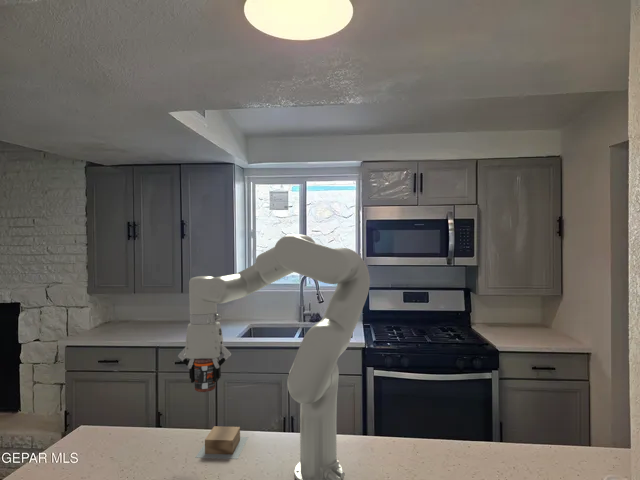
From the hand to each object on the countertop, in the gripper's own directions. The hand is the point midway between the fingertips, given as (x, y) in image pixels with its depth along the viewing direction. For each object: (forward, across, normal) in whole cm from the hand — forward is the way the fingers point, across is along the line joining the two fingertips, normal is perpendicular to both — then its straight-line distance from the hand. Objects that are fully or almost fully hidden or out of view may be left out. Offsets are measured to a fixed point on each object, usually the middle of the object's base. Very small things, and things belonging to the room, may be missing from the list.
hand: (205, 380), depth 115 cm
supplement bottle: (+3, 0, 0) cm, 3 cm away
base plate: (+21, -4, -1) cm, 21 cm away
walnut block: (+20, -4, -1) cm, 20 cm away
